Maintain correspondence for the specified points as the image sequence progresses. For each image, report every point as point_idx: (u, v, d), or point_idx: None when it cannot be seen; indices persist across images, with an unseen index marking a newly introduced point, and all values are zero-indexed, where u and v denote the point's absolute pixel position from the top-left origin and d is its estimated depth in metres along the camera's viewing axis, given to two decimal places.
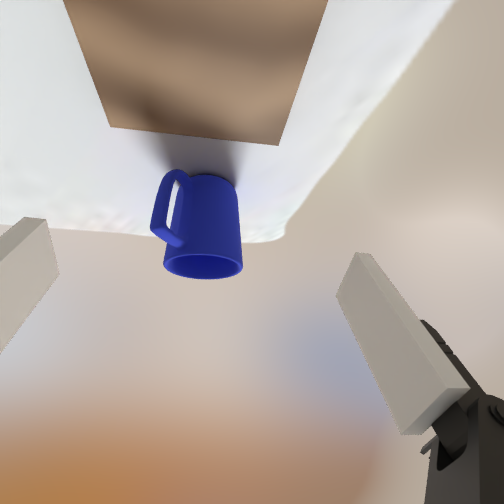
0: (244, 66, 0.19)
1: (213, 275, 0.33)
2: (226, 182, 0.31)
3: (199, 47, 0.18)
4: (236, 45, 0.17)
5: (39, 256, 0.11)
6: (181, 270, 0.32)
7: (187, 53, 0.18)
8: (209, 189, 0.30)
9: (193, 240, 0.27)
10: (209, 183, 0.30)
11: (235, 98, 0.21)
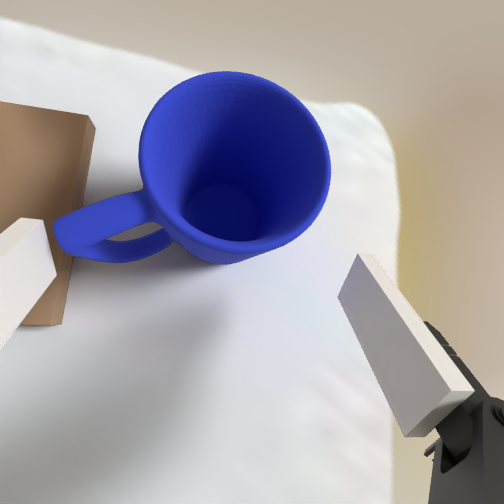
0: None
1: (315, 149, 0.13)
2: None
3: None
4: None
5: (36, 257, 0.11)
6: (293, 223, 0.12)
7: None
8: None
9: None
10: None
11: (5, 164, 0.18)
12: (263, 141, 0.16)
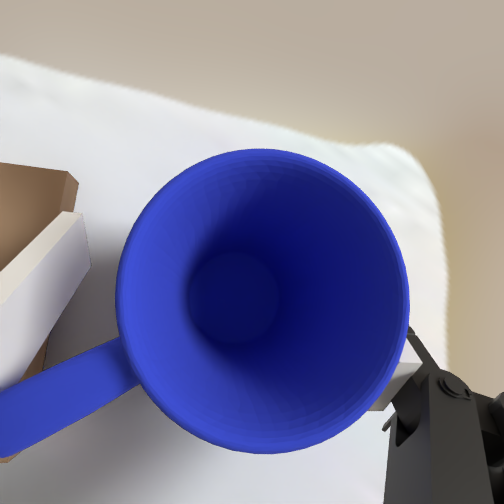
0: None
1: (383, 259, 0.09)
2: None
3: None
4: None
5: (77, 248, 0.11)
6: (354, 382, 0.08)
7: None
8: None
9: None
10: None
11: None
12: (296, 225, 0.11)
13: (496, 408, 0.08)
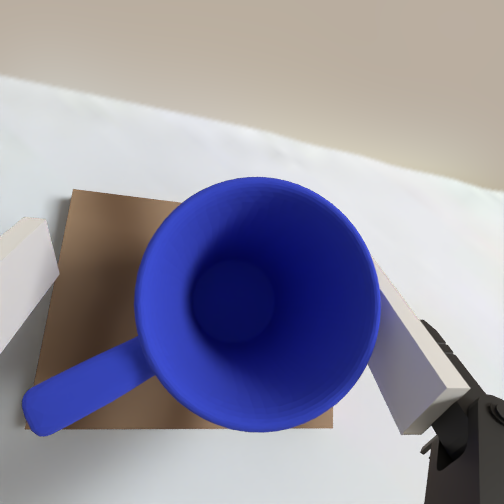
0: None
1: (359, 269, 0.10)
2: None
3: None
4: None
5: (39, 256, 0.11)
6: (334, 374, 0.10)
7: None
8: None
9: None
10: None
11: None
12: (287, 237, 0.13)
13: None
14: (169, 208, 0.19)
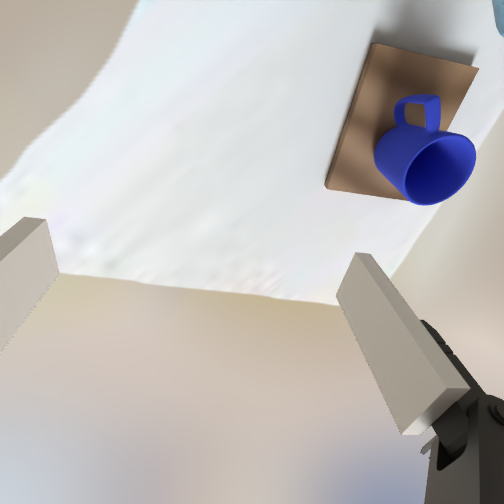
0: None
1: (430, 200, 0.34)
2: None
3: None
4: None
5: (39, 256, 0.11)
6: (406, 189, 0.33)
7: None
8: None
9: (441, 131, 0.31)
10: None
11: None
12: (436, 179, 0.36)
13: None
14: (448, 119, 0.39)
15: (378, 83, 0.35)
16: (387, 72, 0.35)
